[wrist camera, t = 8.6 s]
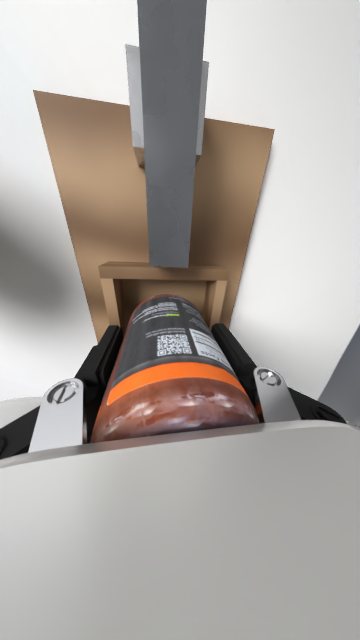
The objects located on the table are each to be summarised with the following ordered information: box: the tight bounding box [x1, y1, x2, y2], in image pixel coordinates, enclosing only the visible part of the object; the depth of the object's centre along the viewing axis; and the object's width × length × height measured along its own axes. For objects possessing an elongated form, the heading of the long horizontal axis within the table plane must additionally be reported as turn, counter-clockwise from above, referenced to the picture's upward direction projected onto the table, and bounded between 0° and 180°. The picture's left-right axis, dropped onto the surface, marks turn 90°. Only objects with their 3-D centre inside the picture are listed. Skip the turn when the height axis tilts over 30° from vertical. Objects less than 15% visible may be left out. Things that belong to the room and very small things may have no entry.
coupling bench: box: [33, 90, 275, 343], centre depth 14 cm, size 26×14×3 cm, turn 177°
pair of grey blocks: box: [126, 0, 209, 268], centre depth 13 cm, size 28×8×5 cm, turn 177°
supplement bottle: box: [90, 294, 259, 443], centre depth 8 cm, size 6×6×11 cm
